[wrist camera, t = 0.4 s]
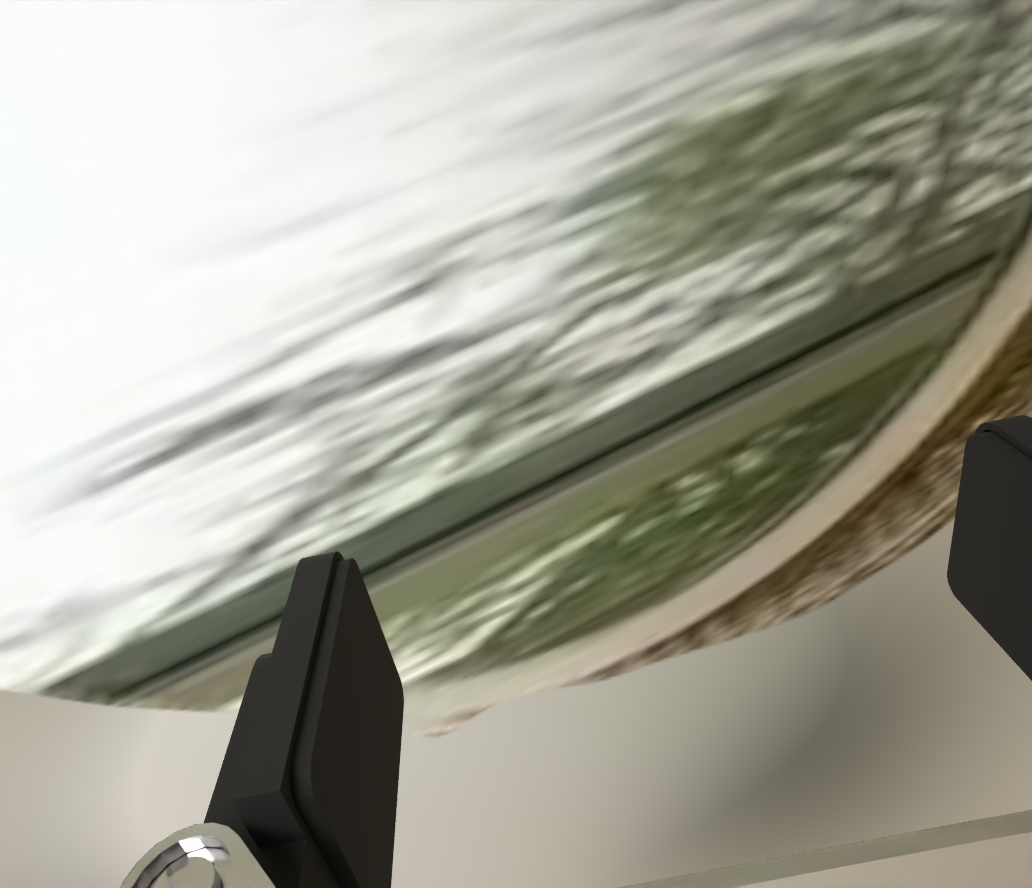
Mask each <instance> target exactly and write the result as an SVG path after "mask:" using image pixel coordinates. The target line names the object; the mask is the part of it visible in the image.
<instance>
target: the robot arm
mask: <svg viewBox="0 0 1032 888" xmlns="http://www.w3.org/2000/svg"><path fill="white" fill-rule="evenodd" d="M947 578H948V583H949V586H950V588H951V590H952V592H953V594H954V595H955V597H956V598H957V599H958V600H959V601H960V602H961V604H962V605H963V606H964V607H965V608H966V609H967V610H968V611H969V612H970V613H971V614H972V616H973V617H974V618H975V619H976V620H977V621H978V622H979V623H980V624H981V626H982V627H983V628H984V629H985V630H986V631H987V632H988V633H989V634H990V635H991V636H992V637H993V639H994V640H995V641H996V642H997V643H998V644H999V645H1000V646H1001V647H1002V648H1003V649H1004V651H1005V652H1006V653H1007V654H1008V655H1009V656H1010V657H1011V658H1012V660H1013V661H1014V662H1015V663H1016V664H1017V665H1018V666H1019V667H1020V668H1021V669H1022V671H1023V672H1024V673H1025V674H1026V675H1027V676H1028V677H1029V678H1030V679H1031V680H1032V418H1031V417H1028V416H1015V417H1010V418H1005V419H1000V420H995V421H990V422H985V423H983V424H981V425H979V427H978V428H977V429H976V432H975V435H972V436H970V437H969V438H968V439H967V442H966V445H965V452H964V459H963V466H962V473H961V480H960V487H959V494H958V501H957V508H956V515H955V522H954V529H953V536H952V543H951V550H950V557H949V563H948V571H947ZM403 708H404V696H403V688H402V683H401V680H400V677H399V674H398V672H397V669H396V666H395V664H394V661H393V658H392V656H391V653H390V650H389V648H388V645H387V642H386V640H385V637H384V634H383V632H382V629H381V626H380V624H379V621H378V618H377V616H376V613H375V610H374V608H373V605H372V602H371V600H370V597H369V594H368V592H367V589H366V586H365V583H364V581H363V578H362V575H361V573H360V570H359V567H358V565H357V563H356V561H355V560H354V559H353V558H350V559H345V560H344V559H343V556H342V555H341V554H340V552H331V553H326V554H321V555H316V556H311V557H306V558H302V559H301V560H300V561H299V563H298V566H297V569H296V573H295V576H294V579H293V583H292V586H291V590H290V593H289V597H288V600H287V603H286V607H285V610H284V614H283V617H282V620H281V624H280V627H279V631H278V634H277V638H276V641H275V644H274V648H273V651H272V653H269V654H264V655H261V656H260V657H259V658H258V659H257V660H256V662H255V664H254V666H253V669H252V672H251V675H250V678H249V681H248V684H247V688H246V691H245V694H244V697H243V700H242V703H241V707H240V710H239V713H238V716H237V720H236V722H235V726H234V729H233V732H232V735H231V739H230V742H229V745H228V748H227V751H226V754H225V757H224V760H223V764H222V767H221V770H220V773H219V776H218V780H217V783H216V786H215V789H214V792H213V795H212V798H211V801H210V805H209V808H208V811H207V814H206V817H205V820H204V823H203V824H195V825H192V826H189V827H187V828H184V829H182V830H179V831H177V832H174V833H173V834H171V835H170V836H168V837H167V838H165V839H164V840H162V841H160V842H159V843H157V844H156V845H155V846H154V847H153V848H152V849H150V850H149V851H148V852H147V853H146V854H145V855H144V856H143V857H142V858H141V859H140V860H139V861H138V862H137V863H136V864H135V866H134V867H133V868H132V870H131V871H130V872H129V874H128V875H127V877H126V878H125V879H124V881H123V882H122V884H121V886H120V888H391V878H392V864H393V850H394V836H395V834H394V833H395V822H396V807H397V793H398V779H399V764H400V751H401V736H402V722H403ZM620 888H1032V810H1028V811H1023V812H1017V813H1012V814H1006V815H1001V816H995V817H990V818H985V819H979V820H974V821H968V822H963V823H957V824H952V825H947V826H941V827H936V828H931V829H925V830H920V831H915V832H909V833H904V834H899V835H893V836H888V837H883V838H877V839H872V840H866V841H861V842H856V843H851V844H845V845H840V846H835V847H829V848H824V849H819V850H813V851H808V852H803V853H798V854H792V855H787V856H782V857H776V858H771V859H766V860H761V861H755V862H750V863H744V864H739V865H735V866H729V867H724V868H719V869H713V870H708V871H703V872H698V873H693V874H688V875H682V876H678V877H672V878H667V879H662V880H656V881H651V882H646V883H641V884H636V885H631V886H625V887H620Z"/></svg>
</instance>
